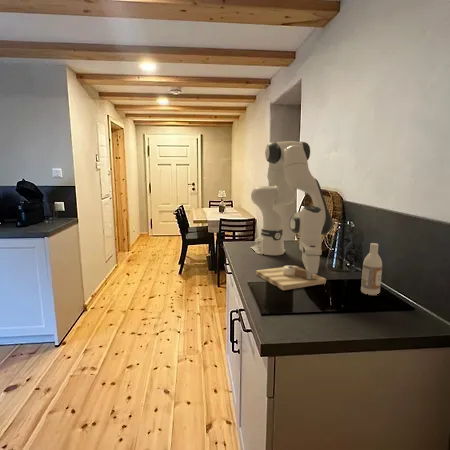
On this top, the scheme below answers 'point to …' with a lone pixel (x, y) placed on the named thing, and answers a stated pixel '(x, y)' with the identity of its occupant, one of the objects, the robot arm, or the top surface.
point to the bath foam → (372, 272)
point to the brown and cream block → (294, 271)
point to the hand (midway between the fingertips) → (308, 277)
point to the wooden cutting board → (288, 279)
